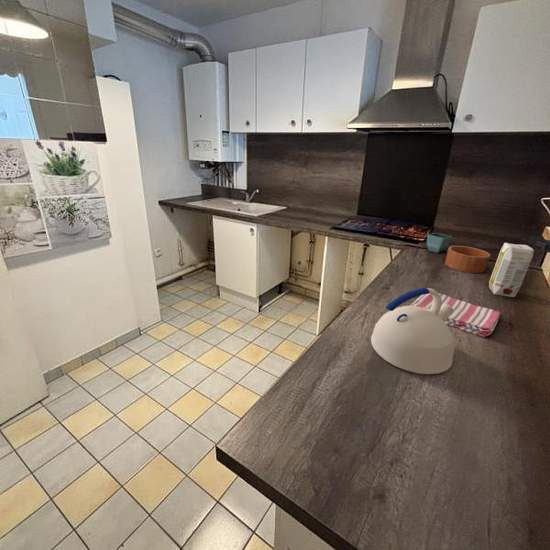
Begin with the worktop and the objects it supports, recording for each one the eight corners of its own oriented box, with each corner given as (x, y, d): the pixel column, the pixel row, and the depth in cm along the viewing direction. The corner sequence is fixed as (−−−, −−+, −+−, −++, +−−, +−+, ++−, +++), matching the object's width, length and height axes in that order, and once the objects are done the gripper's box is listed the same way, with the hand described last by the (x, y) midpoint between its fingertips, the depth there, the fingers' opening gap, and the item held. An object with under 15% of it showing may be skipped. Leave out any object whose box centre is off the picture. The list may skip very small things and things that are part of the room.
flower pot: (447, 252, 157) (452, 236, 154) (439, 255, 153) (443, 238, 149) (432, 247, 164) (436, 232, 160) (423, 250, 159) (427, 234, 156)
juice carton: (518, 298, 108) (538, 250, 101) (491, 294, 111) (509, 247, 103) (510, 290, 115) (528, 244, 107) (485, 286, 117) (501, 241, 110)
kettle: (472, 366, 72) (496, 303, 65) (402, 382, 67) (421, 314, 60) (415, 323, 90) (429, 269, 83) (356, 332, 84) (365, 275, 77)
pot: (487, 266, 139) (492, 251, 136) (482, 276, 128) (488, 260, 125) (448, 257, 149) (452, 243, 146) (441, 266, 137) (445, 251, 134)
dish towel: (489, 340, 83) (493, 329, 82) (407, 309, 98) (409, 300, 96) (499, 318, 95) (502, 309, 93) (424, 294, 109) (426, 285, 108)
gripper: (577, 276, 75) (510, 250, 95) (661, 277, 77) (579, 251, 97) (590, 248, 72) (518, 227, 92) (678, 250, 75) (589, 229, 94)
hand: (549, 240), depth 94 cm, fingers open, 13 cm apart
